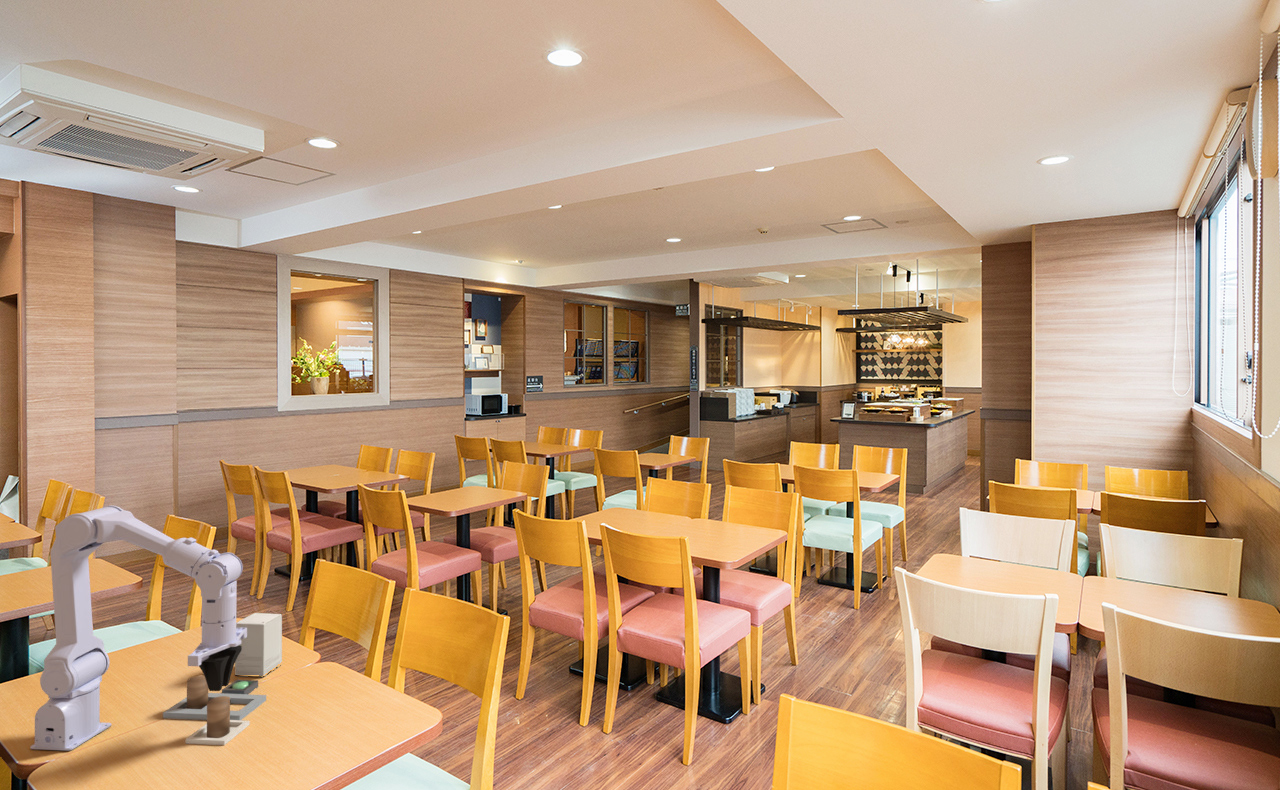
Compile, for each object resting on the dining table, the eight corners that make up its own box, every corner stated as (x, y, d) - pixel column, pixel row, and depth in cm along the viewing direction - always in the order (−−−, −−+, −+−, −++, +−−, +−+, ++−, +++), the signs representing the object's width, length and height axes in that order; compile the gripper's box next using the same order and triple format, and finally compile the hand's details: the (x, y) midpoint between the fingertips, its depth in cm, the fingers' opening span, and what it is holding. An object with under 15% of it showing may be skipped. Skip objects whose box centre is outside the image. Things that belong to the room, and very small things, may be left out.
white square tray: (224, 747, 127) (224, 740, 127) (185, 745, 128) (185, 739, 128) (249, 726, 135) (249, 720, 135) (212, 725, 135) (212, 719, 135)
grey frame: (239, 723, 136) (239, 715, 136) (162, 719, 137) (163, 712, 137) (266, 702, 145) (266, 695, 145) (194, 699, 146) (194, 692, 146)
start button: (242, 695, 147) (242, 687, 147) (229, 695, 148) (229, 687, 148) (251, 689, 150) (251, 681, 150) (238, 689, 151) (238, 681, 150)
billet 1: (200, 714, 139) (200, 683, 139) (182, 714, 139) (182, 682, 139) (212, 706, 143) (212, 675, 143) (195, 705, 143) (195, 675, 143)
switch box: (244, 698, 146) (244, 690, 146) (221, 697, 147) (221, 689, 147) (258, 688, 151) (258, 680, 151) (236, 687, 152) (236, 679, 152)
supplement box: (283, 665, 164) (283, 613, 164) (263, 678, 157) (263, 624, 156) (254, 663, 165) (255, 611, 164) (233, 676, 157) (233, 622, 157)
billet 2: (221, 739, 129) (221, 705, 129) (202, 738, 129) (202, 704, 129) (234, 729, 133) (234, 696, 133) (215, 728, 133) (215, 695, 133)
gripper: (214, 633, 123) (213, 706, 124) (261, 606, 138) (261, 672, 138) (176, 631, 124) (176, 705, 124) (228, 605, 138) (227, 671, 138)
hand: (218, 687), depth 131 cm, fingers closed
